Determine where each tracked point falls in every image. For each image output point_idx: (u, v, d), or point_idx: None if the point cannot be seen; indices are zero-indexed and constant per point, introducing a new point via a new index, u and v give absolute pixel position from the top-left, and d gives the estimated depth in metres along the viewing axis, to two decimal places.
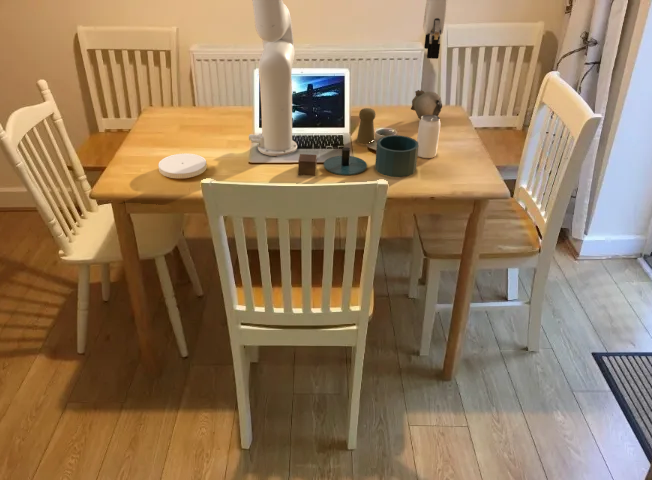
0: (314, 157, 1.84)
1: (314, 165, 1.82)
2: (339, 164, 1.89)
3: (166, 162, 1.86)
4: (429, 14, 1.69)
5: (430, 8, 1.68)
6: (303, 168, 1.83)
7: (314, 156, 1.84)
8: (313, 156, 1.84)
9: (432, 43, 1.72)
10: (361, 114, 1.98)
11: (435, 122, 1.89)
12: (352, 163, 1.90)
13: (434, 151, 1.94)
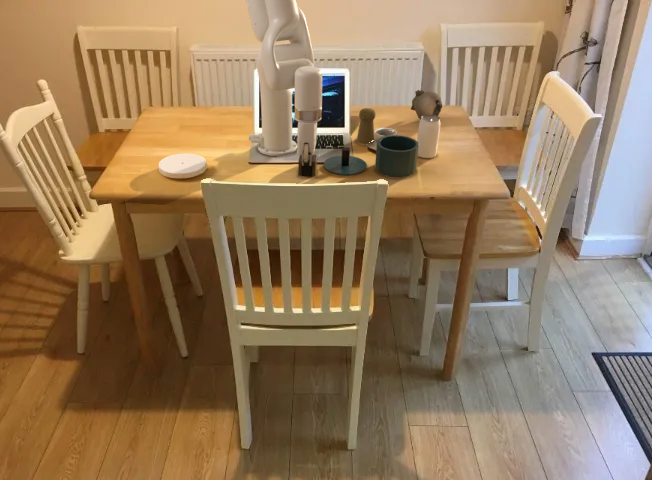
0: (314, 157, 1.84)
1: (314, 165, 1.82)
2: (339, 164, 1.89)
3: (166, 162, 1.86)
4: (298, 138, 1.75)
5: (299, 133, 1.74)
6: None
7: (314, 156, 1.84)
8: (313, 156, 1.84)
9: (304, 165, 1.81)
10: (361, 114, 1.98)
11: (435, 122, 1.89)
12: (352, 163, 1.90)
13: (434, 151, 1.94)
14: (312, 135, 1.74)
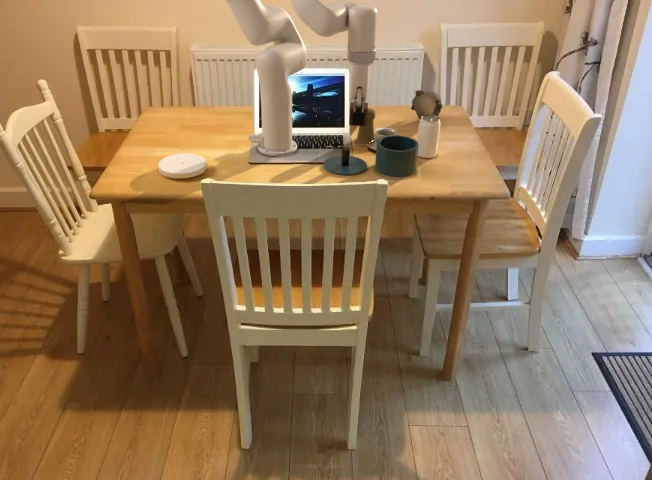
0: (366, 104, 1.76)
1: (366, 112, 1.74)
2: (339, 164, 1.89)
3: (166, 162, 1.86)
4: (351, 82, 1.67)
5: (352, 76, 1.67)
6: None
7: (366, 104, 1.76)
8: (364, 104, 1.76)
9: (356, 112, 1.73)
10: None
11: (435, 122, 1.89)
12: (352, 163, 1.90)
13: (434, 151, 1.94)
14: (366, 78, 1.67)
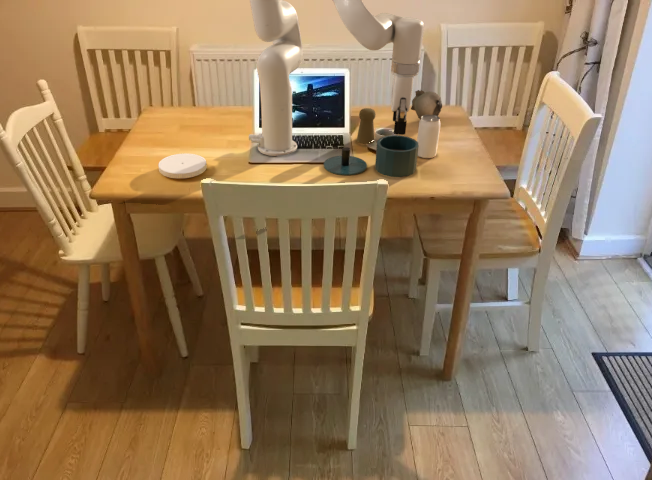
0: None
1: None
2: (339, 164, 1.89)
3: (166, 162, 1.86)
4: (395, 93, 1.71)
5: (396, 88, 1.70)
6: None
7: None
8: None
9: (398, 121, 1.74)
10: (361, 114, 1.98)
11: (435, 122, 1.89)
12: (352, 163, 1.90)
13: (434, 151, 1.94)
14: (410, 90, 1.70)
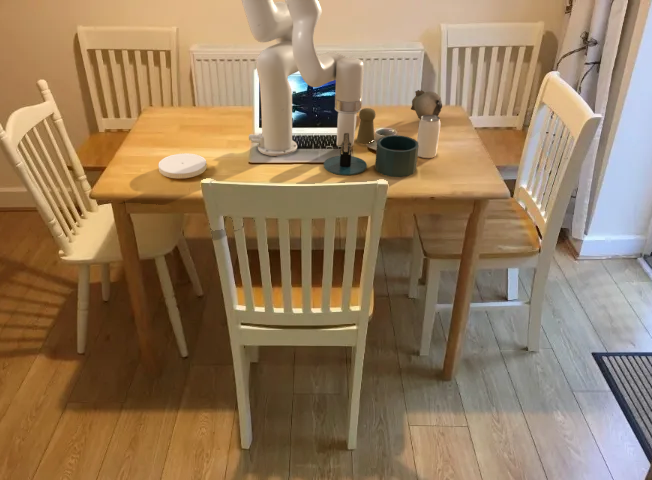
0: None
1: None
2: (339, 164, 1.89)
3: (166, 162, 1.86)
4: (339, 129, 1.78)
5: (339, 124, 1.77)
6: None
7: None
8: None
9: None
10: (361, 114, 1.98)
11: (435, 122, 1.89)
12: (352, 163, 1.90)
13: (434, 151, 1.94)
14: (352, 126, 1.77)
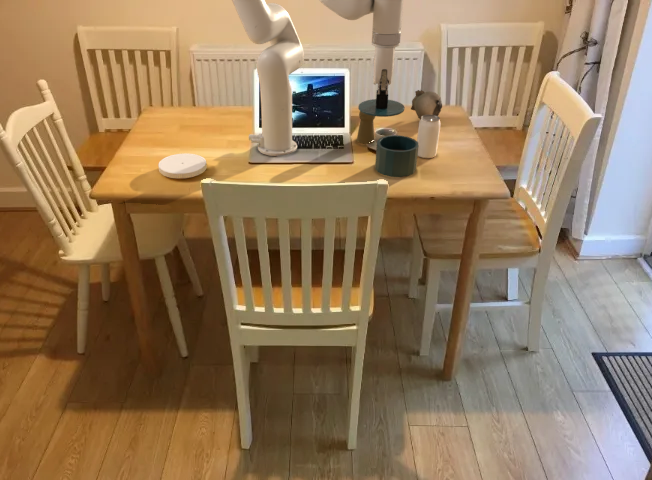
0: None
1: None
2: (375, 106, 1.78)
3: (166, 162, 1.86)
4: (376, 65, 1.67)
5: (377, 59, 1.66)
6: None
7: None
8: None
9: (380, 95, 1.73)
10: (361, 114, 1.98)
11: (435, 122, 1.89)
12: (389, 105, 1.78)
13: (434, 151, 1.94)
14: (391, 61, 1.66)
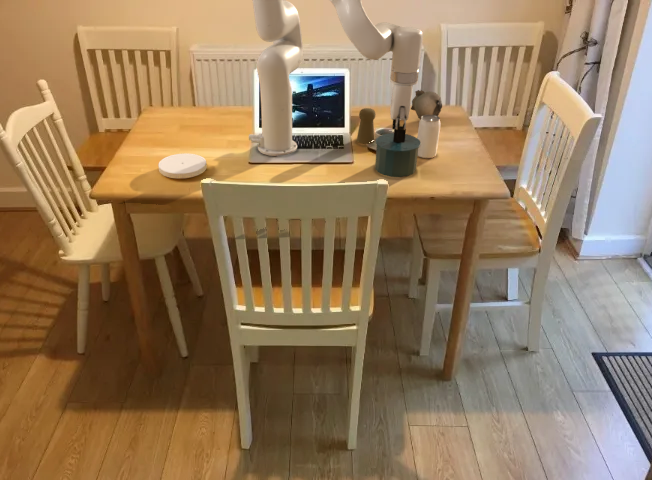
0: None
1: None
2: (392, 141, 1.83)
3: (166, 162, 1.86)
4: (394, 102, 1.72)
5: (395, 96, 1.71)
6: None
7: None
8: None
9: (398, 129, 1.75)
10: (361, 114, 1.98)
11: (435, 122, 1.89)
12: (405, 140, 1.84)
13: (434, 151, 1.94)
14: (409, 98, 1.71)
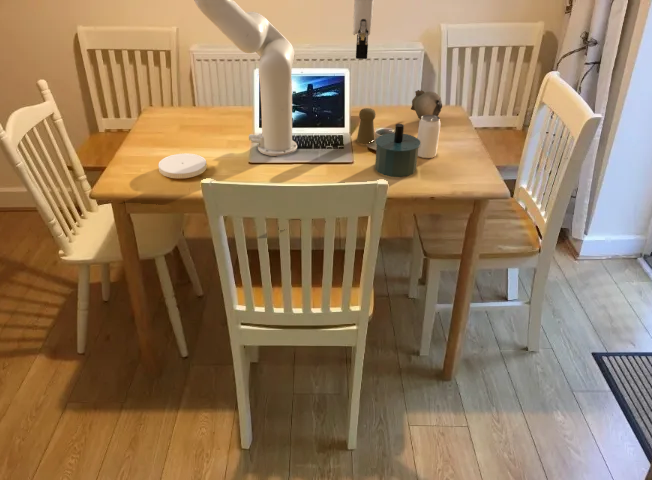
0: None
1: None
2: (392, 141, 1.83)
3: (166, 162, 1.86)
4: (355, 15, 1.71)
5: (356, 9, 1.70)
6: None
7: None
8: None
9: (360, 44, 1.74)
10: (361, 114, 1.98)
11: (435, 122, 1.89)
12: (405, 140, 1.84)
13: (434, 151, 1.94)
14: (370, 11, 1.70)
